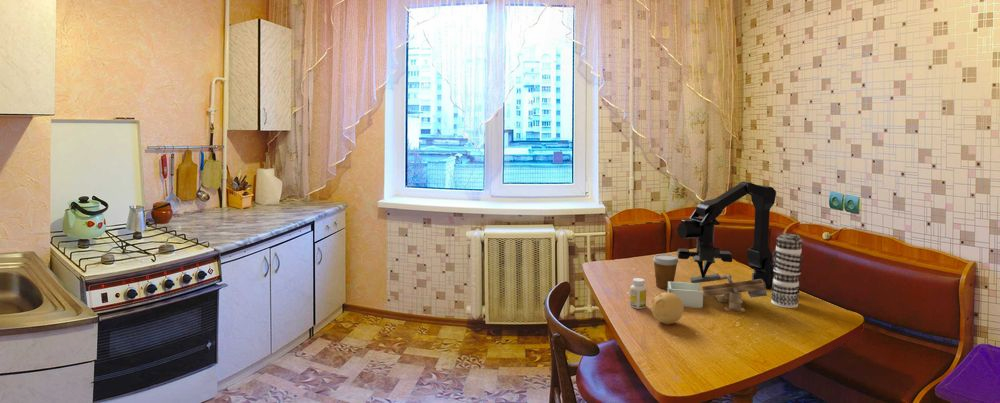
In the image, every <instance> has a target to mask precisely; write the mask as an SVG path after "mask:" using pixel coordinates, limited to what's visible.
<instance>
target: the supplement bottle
mask: <svg viewBox="0 0 1000 403" xmlns="http://www.w3.org/2000/svg"><path fill="white" fill-rule="evenodd" d="M645 281H646V280H645V279H644V278H641V277H634V278H633V279H632V285H630V295H629V296H630V298H629V299H630V300H629V302H630V304H629V305H630V307H631V308H633V309H638V310H639V309H641V310H643V309H646V307H647V286H646V285H645Z"/></svg>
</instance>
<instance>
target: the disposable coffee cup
mask: <svg viewBox="0 0 1000 403" xmlns="http://www.w3.org/2000/svg"><path fill="white" fill-rule="evenodd" d="M652 262H653V265H654V277H655V286H656V287H657V288H659V289H663V290H667V289H668V281H671V282H675V276H676V271H677V267H678V266H677V265H678V263H679V258H678V256H677V255H673V254H668V253H667V254H666V253H665V254H664V253H660V254H659V253H658V254H655V255H654V256H653V259H652Z"/></svg>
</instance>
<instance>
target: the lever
mask: <svg viewBox="0 0 1000 403" xmlns="http://www.w3.org/2000/svg"><path fill="white" fill-rule="evenodd" d="M689 278H690V281H691V282H690V283H700V284H701V283H707V282H715V281H722V280H727V281H728V282H725V283H726V284H725V283H720V284H713V285H712V284H711V285H705V286H702V291H703V296H704V297H713V296H714V297H715V296H717V295H722V296H724V294H730V292H732V293H745V292H747V293H748V295H749V296H750V298H758V297H759V298H760V297H768V294H767V288H766V285H765V283H764V281H763V280H762V279H757V280H752V279H751V280H744V281H735V282H734V281H733V280H732V275H731V274H724V275H719V273H714V274H706V275H705V277H704V278H703V277H702V276H701V275H699V276H697V275H696V276H691V277H689Z"/></svg>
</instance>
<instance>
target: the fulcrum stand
mask: <svg viewBox="0 0 1000 403" xmlns="http://www.w3.org/2000/svg"><path fill="white" fill-rule="evenodd" d="M726 283H727V282H724V284H726ZM742 297H743V294H742V292H739V293H732V292H730V294H723V295H716V299H717V301H718V302H719V303H728V306H724V310H725V311H733V312H745V307H742V305H743V304H744V300H743V299H742Z"/></svg>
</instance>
